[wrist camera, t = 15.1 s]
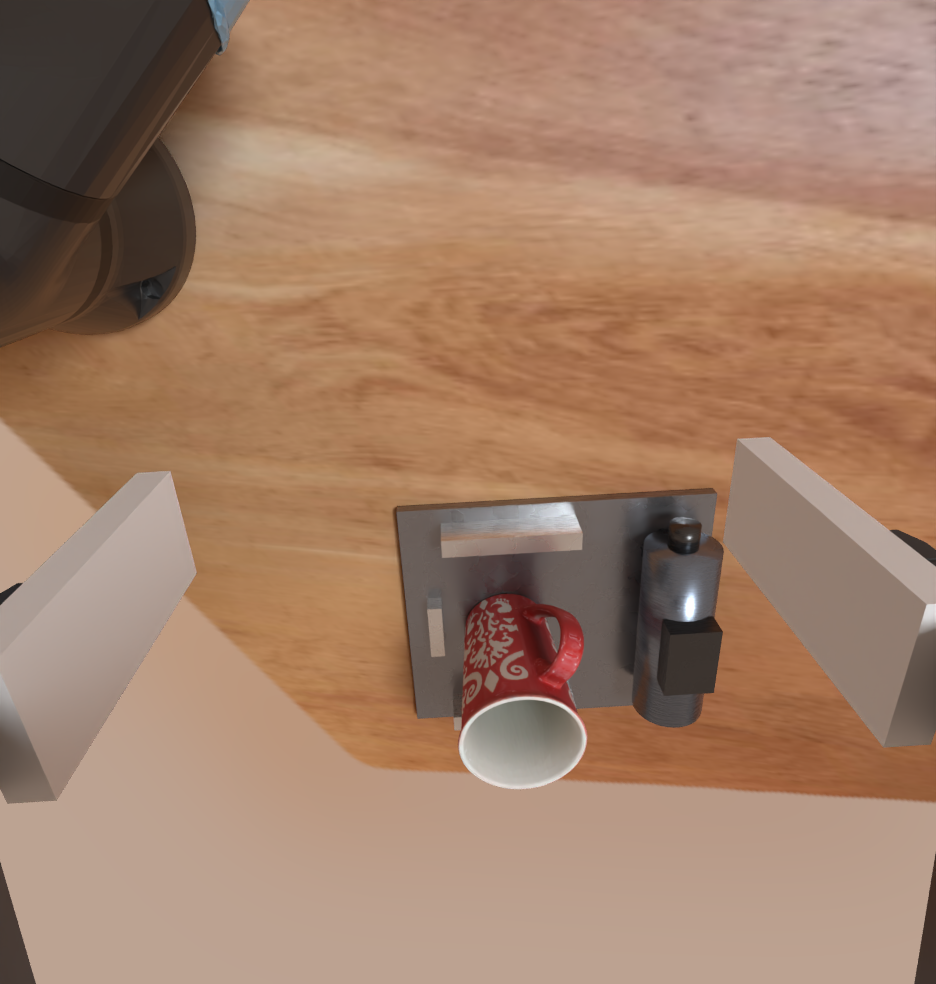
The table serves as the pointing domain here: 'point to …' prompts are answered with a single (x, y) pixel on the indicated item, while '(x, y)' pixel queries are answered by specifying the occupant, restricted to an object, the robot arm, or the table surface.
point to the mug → (520, 694)
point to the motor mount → (573, 592)
